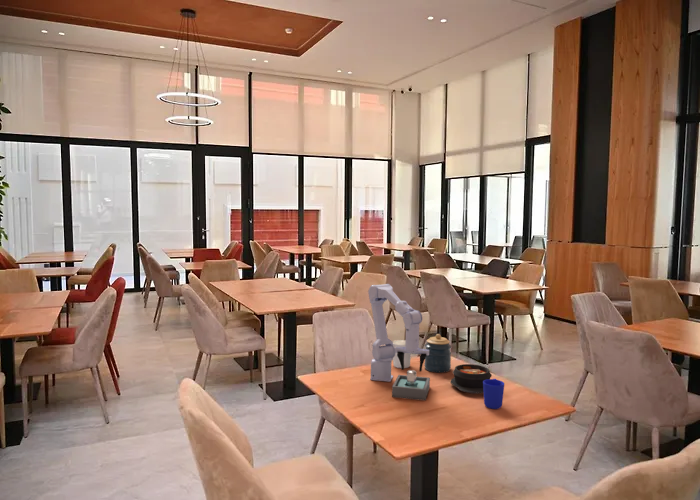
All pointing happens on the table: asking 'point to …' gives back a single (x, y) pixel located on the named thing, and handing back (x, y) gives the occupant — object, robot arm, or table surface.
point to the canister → (438, 354)
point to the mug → (493, 393)
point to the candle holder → (406, 355)
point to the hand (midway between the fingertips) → (411, 369)
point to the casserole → (470, 378)
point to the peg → (411, 378)
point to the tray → (411, 388)
